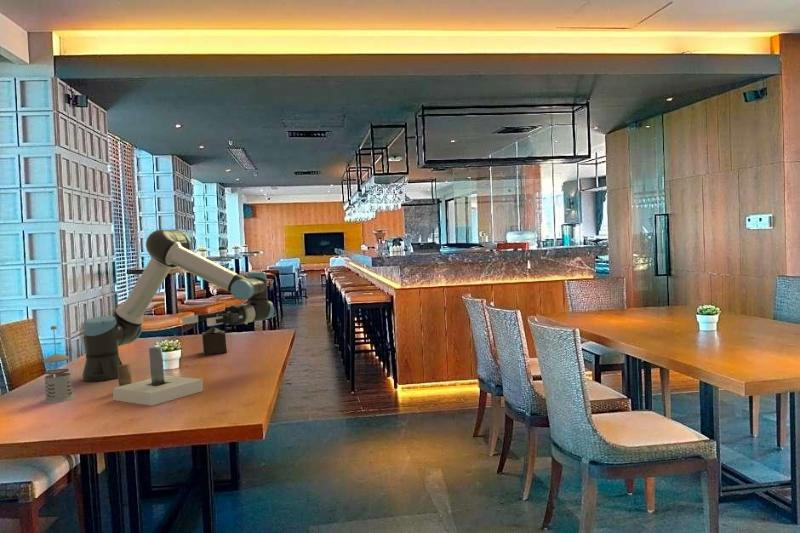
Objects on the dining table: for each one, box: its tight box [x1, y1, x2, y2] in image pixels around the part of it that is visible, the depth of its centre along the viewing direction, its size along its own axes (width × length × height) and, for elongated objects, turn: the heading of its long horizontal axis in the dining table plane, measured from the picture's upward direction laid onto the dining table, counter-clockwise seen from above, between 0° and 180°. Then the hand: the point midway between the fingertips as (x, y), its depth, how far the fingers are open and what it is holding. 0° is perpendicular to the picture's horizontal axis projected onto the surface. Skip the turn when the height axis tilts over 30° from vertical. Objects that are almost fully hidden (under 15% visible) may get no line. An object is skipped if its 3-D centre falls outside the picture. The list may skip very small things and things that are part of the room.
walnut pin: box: [117, 363, 133, 387], centre depth 223 cm, size 4×4×9 cm
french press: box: [42, 325, 76, 404], centre depth 217 cm, size 10×12×25 cm
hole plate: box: [112, 374, 204, 407], centre depth 214 cm, size 20×20×4 cm
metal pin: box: [148, 346, 165, 386], centre depth 213 cm, size 4×4×16 cm
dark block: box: [201, 322, 231, 356], centre depth 296 cm, size 16×11×18 cm
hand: (194, 321), depth 229 cm, fingers open, 13 cm apart
